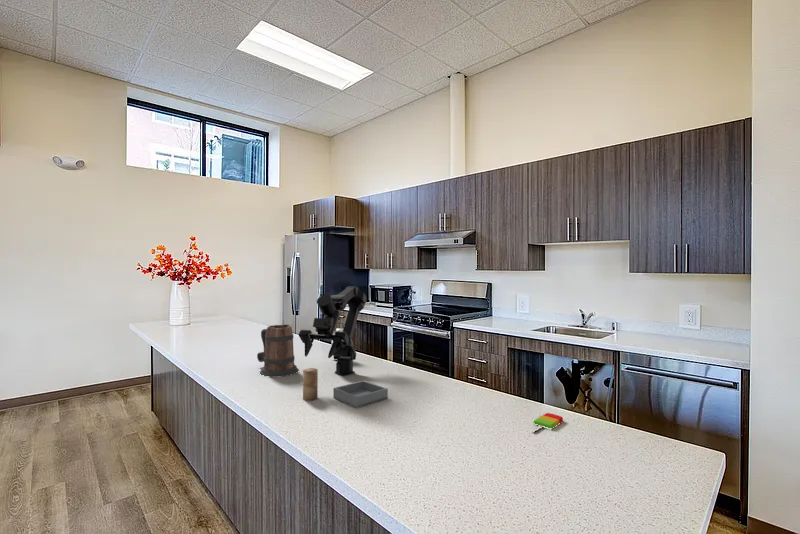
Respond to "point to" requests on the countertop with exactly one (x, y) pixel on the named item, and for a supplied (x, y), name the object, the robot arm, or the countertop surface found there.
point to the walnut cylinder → (310, 384)
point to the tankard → (277, 351)
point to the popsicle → (548, 420)
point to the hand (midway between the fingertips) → (317, 356)
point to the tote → (360, 393)
